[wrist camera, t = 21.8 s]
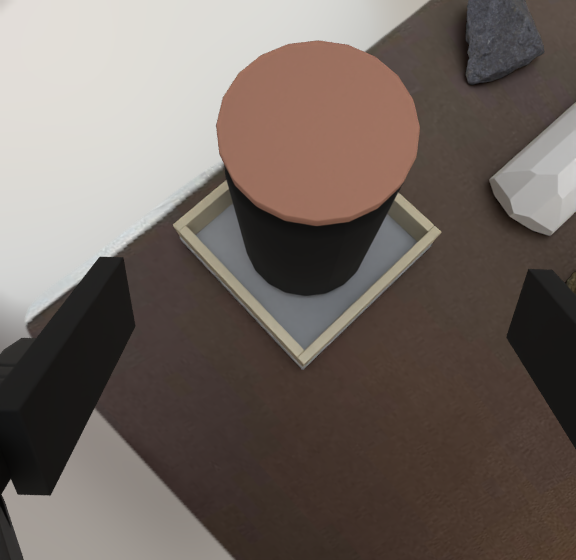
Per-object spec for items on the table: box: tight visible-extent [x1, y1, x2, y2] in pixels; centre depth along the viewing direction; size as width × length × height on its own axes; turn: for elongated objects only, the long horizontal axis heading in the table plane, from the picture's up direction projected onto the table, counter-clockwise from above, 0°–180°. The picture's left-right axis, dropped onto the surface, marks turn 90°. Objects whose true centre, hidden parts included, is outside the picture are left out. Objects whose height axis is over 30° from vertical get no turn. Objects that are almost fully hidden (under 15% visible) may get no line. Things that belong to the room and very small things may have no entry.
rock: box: [466, 0, 544, 85], centre depth 46 cm, size 9×6×10 cm
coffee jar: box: [216, 41, 420, 296], centre depth 33 cm, size 11×11×18 cm
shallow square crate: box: [173, 180, 441, 370], centre depth 41 cm, size 16×16×4 cm
